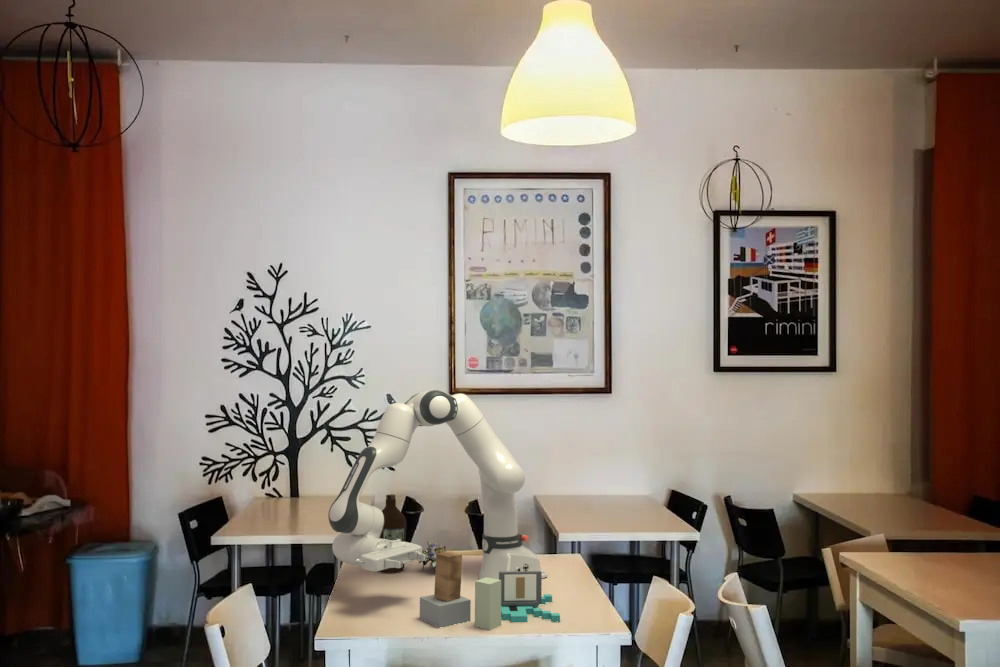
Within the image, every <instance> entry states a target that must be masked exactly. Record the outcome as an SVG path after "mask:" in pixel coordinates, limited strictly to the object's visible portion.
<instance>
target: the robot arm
mask: <svg viewBox="0 0 1000 667" xmlns="http://www.w3.org/2000/svg"><path fill="white" fill-rule="evenodd" d="M442 424H446V425H448V427H450V429H451V431H452V432H453V434H454V436H455V437H456V439H457V440H458V442H459V443H460V445H461V446H462V448H463V449H464V451H465V452H466V454H467V455H468V456H469V458H470V459H471V460H472V461H473V463H474V464H475V465H476V466H477V467H478V474H479V479H480V488H481V489H480V490H481V496H482V498H481V499H482V504H483V533H482V544H481V545H482V558H481V559H482V561H481V566H480V570H479V575H478V580H480V579H483V578H485V577H488V578H493V579H498V580H499V572H504V571H541V572H542V579H546V578H548V573H547V571H545V570H544V569H542V568H541V564H540V559H539V557H538V556H537V554H536V553H534V552H533V551H532V550H530V549H529V548H528V547H526V546H525V545H523V542H524V543H528V541H529V539H530V537H529V536H528V535H526V534H520V533H519V532H518V531H519V509H518V506H517V501H516V497H515V494H516V493H518V492H519V491H520V490H521V489H522V488H523V487H524V484H525V481H526V476H525V475H526V474H525V472H524V470H523V468H522V467H521V465H520V464H519V463H518V462H517V460H516V459H515V457H514V456H513V455H512V453H511V452H510V450H509V449H508V447H506V445H505V444H504V443H503V442H502V441H501V440H500V438H499V437H498V436H497V434H496V432H495V431H494V430H493V428H492V427H491V425H490V423H489V422H488V421H487V419H486V418H485V416H484V414H483V413H482V412H481V410H480V409H479V407H478V406H477V405H476V404H475V403H474V401H473V400H472V399H470V397H469V396H468V395H466V393H454V394H453V395H450V394H447V393H446V392H444V391H441V390H438V389H437V390H436V389H434V390H425V391H422V392H419V393H416V394H414V395H412V396H411V397H409V399H408V400H407V401H405V402H394V403H391V404H389V405H388V406H387V407H386V408H385V411H384V412H383V415H382V417H381V418H380V421H379V422H378V425H377V428H376V430H375V432H374V433H375V434H374V436H373V438H372V441H371V442H370V443H369V445H368V446H367V447H364V449H362V451H360V452H359V454H358V456H357V458H356V459H355V462H354V463H353V465H352V467H351V470H350V471H349V473H348V476H347V478H346V479H345V482H344V484H343V486H342V488H341V490H340V492H339V494H338V495H337V496H336V498H335V499H334V501H333V502H332V503H331V505H330V507H329V510H328V523H329V524H330V527H331V528H332V529H331V530H333V531H334V532H336V533H339V534H337V535H336V536H335V537H334V539H333V541H332V545H331V546H332V553H333V554H334V557H335V558H336V559H337V560H339V561H340V562H342V563H345V564H347V565H352V566H356V567H360V568H361V569H364V570H366V571H370V572H373V573H374V572H377V571H381V570H384V569H387V568H401V567H403V564H404V565H405V564H407V563H411V562H414V561H417V562H419V561H421V563H423V562H422V561H426V560H425V554H422V549H423V547H422V546H421V545H419V544H417V543H413V542H408V541H405V542H401V539H381V538H380V536H381V533H382V531H383V527H384V515H383V512H382V509H381V508H380V507H377V506H374V505H372V504H371V505H370V504H369V503H365V502H361V501H360V497H361V496H362V493H363V491H364V489H365V487H366V485H367V483H368V481H369V479H370V477H371V475H372V474H373V473H374V472H375V471H377V470H381V469H384V468H385V469H386V468H392V467H394V466H396V465H398V464H400V463H401V462H403V461H404V459H405V457H406V455H407V453H408V450H409V447H410V443H411V441H412V438H413V437H412V436H413V434H414V432H415V430H416V429H417V428H418V427H433V426H435V425H436V426H437V425H442ZM545 577H546V578H545Z"/></svg>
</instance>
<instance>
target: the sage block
mask: <svg viewBox="0 0 1000 667" xmlns="http://www.w3.org/2000/svg"><path fill="white" fill-rule="evenodd" d="M499 625H501V626H502V618H501V580H498V579H493V578H488V577H485V578H483V579H478V580H475V581H474V627H475V626H476V627H475V628H479V627H480V629H483V630H486V631H491V629H492V630H493V629H495V628H498V627H500V626H499ZM497 626H498V627H497Z"/></svg>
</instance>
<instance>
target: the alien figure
mask: <svg viewBox="0 0 1000 667" xmlns="http://www.w3.org/2000/svg"><path fill="white" fill-rule="evenodd" d="M545 602H552V603H553V595H552V594H543V596H541V604H545V605H546V603H545ZM538 606H539V607H540V605H539V604H538V605H522V606H503V605H501V617H502V618H501V621H510V620H511V621H510V623H511V622H527V623H528V615H527V614H533V615H534V616H533V615H532V616H533V618H540V617H539V616H542V617H541V619H542V618H543V619H551V620H550V621H551V623H561V614H560V613H559V612H551V610H543V609H542V608H539V607H538ZM543 619H542V620H543ZM557 621H558V622H557Z"/></svg>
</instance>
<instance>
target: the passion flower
mask: <svg viewBox="0 0 1000 667" xmlns="http://www.w3.org/2000/svg"><path fill="white" fill-rule="evenodd" d="M427 546H428V547H427V549H423V548H422V554H425V561H422V562H421V561H418V564H421V563H422V570H424V568H425V566H426V565H427V564H428V562H430V563H429V566H430V568H434V570H435V571H436V553H440V552H445V551H447V546H445V545H444V546H443V545H438V543H437V542H435V543H433V544H432V543H431V541H428V540H427Z"/></svg>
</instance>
